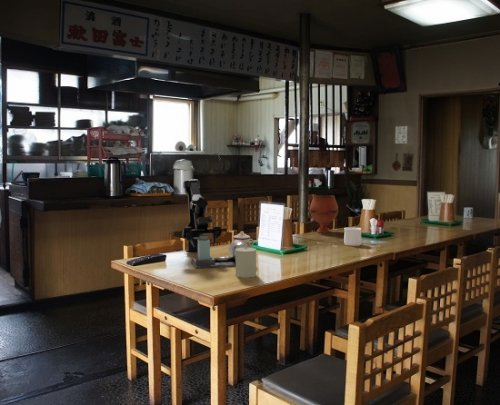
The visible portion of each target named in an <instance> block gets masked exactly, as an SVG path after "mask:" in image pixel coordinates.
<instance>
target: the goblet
mask: <svg viewBox="0 0 500 405" xmlns="http://www.w3.org/2000/svg"><path fill="white" fill-rule="evenodd" d="M309 214H310V216H311V218H312V219H313V220H314V221H315V222H317V223H319V224H318V225H319V227H318V229H317V230H316V233H323V234H326V233H330V229H329V228H328V226H329V224H330V223H332V222H333V221H334V220H335V219H336V218H337V217H338V214H339V205H338V203H337V199H336V197H335V195H330V194H329V195H328V194H326V195H325V194H316V195H315V194H314V195H313V198H312V200H311V201H310V207H309Z"/></svg>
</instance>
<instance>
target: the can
mask: <svg viewBox="0 0 500 405" xmlns="http://www.w3.org/2000/svg"><path fill="white" fill-rule="evenodd" d="M234 275H235V277H237V278H240V277H241V278H243V279H247V278H248V279H249V278H250V277H251V278H255V277H256V276H257V248H254V247H251V248H247V247H244V248H237V249H236V266H235V274H234Z"/></svg>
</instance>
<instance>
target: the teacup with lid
mask: <svg viewBox="0 0 500 405" xmlns="http://www.w3.org/2000/svg"><path fill="white" fill-rule="evenodd" d="M235 240H240V241H242V242H244V243H245V244H247V245H248V246H249V247H251V248H253V246H254V239H252V238H251V236H250V235H248V234H246V233H245V232H244V231H240V232H239V233H237V234H236V235H234V236H233V241H235ZM250 243H251V244H250Z"/></svg>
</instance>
